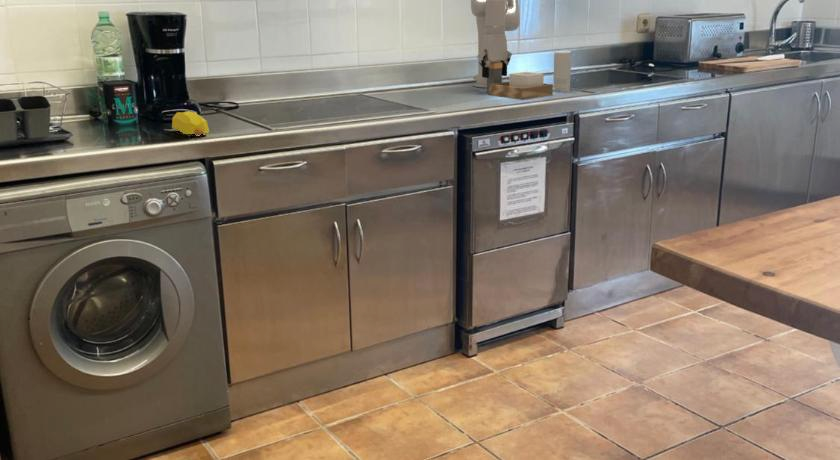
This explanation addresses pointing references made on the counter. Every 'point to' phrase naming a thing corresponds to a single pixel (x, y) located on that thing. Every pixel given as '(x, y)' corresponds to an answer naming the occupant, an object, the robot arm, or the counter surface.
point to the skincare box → (562, 71)
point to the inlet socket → (526, 79)
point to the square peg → (494, 73)
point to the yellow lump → (189, 123)
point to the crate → (520, 91)
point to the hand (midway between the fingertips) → (494, 76)
